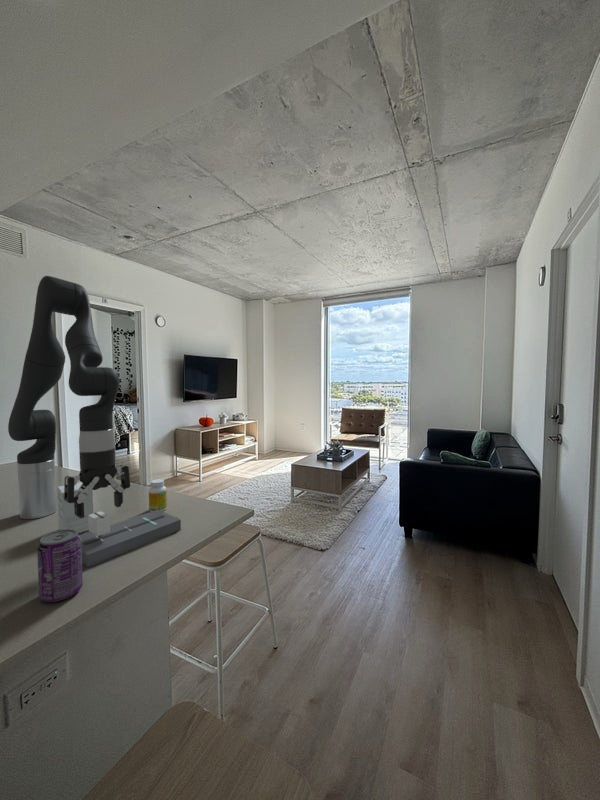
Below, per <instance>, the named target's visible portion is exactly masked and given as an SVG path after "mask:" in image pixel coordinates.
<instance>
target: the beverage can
mask: <svg viewBox="0 0 600 800" xmlns="http://www.w3.org/2000/svg"><path fill="white" fill-rule="evenodd" d="M79 536H80V535H79V533H78V531H77V530H75V529H63V530H60V529H59V530H56V531H55V530H54V531H52V532H49V533H46V534H45V535H43V536H42V537H41V538H40V539H39V545H38V548H37V550H36V554H37V557H36V558H37V571H38V572H37V575H38V579H37V580H38V598H39V600H40V601H41V602H44V603H45V602H47V603H49V602H50V603H51V602H52V603H53V602H54V603H55V602H60V600H61V601H63V600H65V599H68V598H70V597H72V596H73V595H74V594H76V593H77V592H79V591H80V590H81V589H82V587H83V584H84V581H83V563H82V552H81V539H80V537H79Z"/></svg>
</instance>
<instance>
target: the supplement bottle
mask: <svg viewBox="0 0 600 800" xmlns="http://www.w3.org/2000/svg"><path fill="white" fill-rule="evenodd" d="M167 498H168V497H167V487H166V486H165V480H164V479H159V478H158V479H153V480H151V481H150V487H149V489H148V511H149V512H152V511H155V510H160V511H162V512H165V510H167V508H168V507H167V506H168V505H167V504H168V503H167V502H168V501H167Z"/></svg>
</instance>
